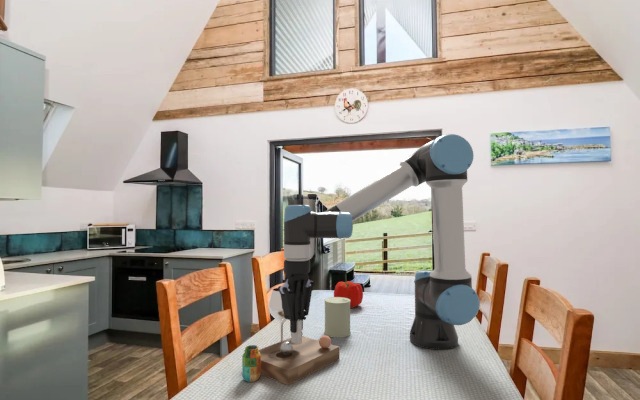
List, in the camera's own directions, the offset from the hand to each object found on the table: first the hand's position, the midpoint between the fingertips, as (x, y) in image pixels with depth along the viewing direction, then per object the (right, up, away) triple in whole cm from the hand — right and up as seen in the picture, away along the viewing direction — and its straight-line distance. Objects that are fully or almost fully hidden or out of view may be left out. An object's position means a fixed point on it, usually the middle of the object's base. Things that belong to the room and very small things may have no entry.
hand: (296, 342), depth 106 cm
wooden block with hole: (-1, -5, -1) cm, 6 cm away
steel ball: (-2, 0, -3) cm, 4 cm away
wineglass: (-5, -6, +11) cm, 14 cm away
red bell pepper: (+19, -7, +63) cm, 66 cm away
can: (+13, -6, +25) cm, 29 cm away
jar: (-11, -5, -11) cm, 16 cm away
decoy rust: (+8, 0, +1) cm, 8 cm away
